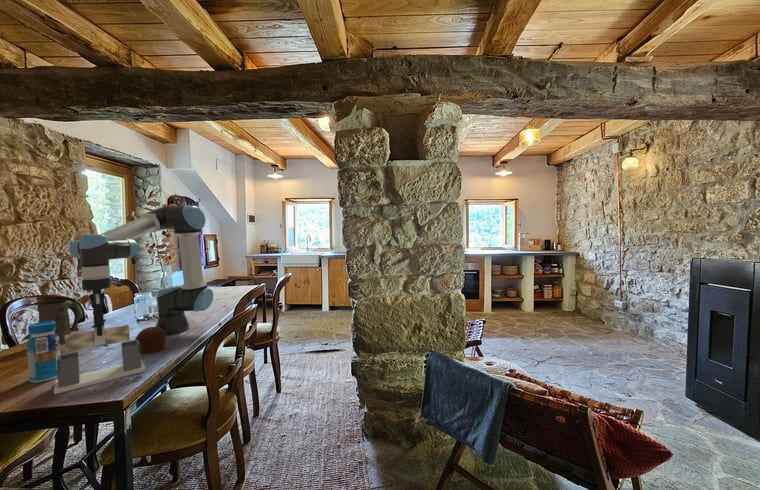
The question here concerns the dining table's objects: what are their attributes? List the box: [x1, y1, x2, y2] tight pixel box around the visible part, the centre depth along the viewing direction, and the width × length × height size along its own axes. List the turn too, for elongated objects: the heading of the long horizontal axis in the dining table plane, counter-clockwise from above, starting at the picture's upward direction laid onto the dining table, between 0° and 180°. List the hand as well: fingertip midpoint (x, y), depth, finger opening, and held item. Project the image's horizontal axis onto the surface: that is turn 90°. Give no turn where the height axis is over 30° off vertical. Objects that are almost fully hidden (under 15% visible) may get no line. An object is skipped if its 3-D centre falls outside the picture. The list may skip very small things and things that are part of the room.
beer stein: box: [36, 300, 82, 346], centre depth 152 cm, size 15×11×20 cm
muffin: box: [134, 326, 167, 355], centre depth 139 cm, size 12×11×10 cm
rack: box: [53, 339, 146, 395], centre depth 115 cm, size 24×10×10 cm, turn 133°
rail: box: [64, 324, 131, 354], centre depth 114 cm, size 17×4×5 cm, turn 133°
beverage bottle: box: [25, 321, 61, 383], centre depth 115 cm, size 8×8×20 cm
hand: (100, 342), depth 114 cm, fingers closed on rail, 4 cm apart
